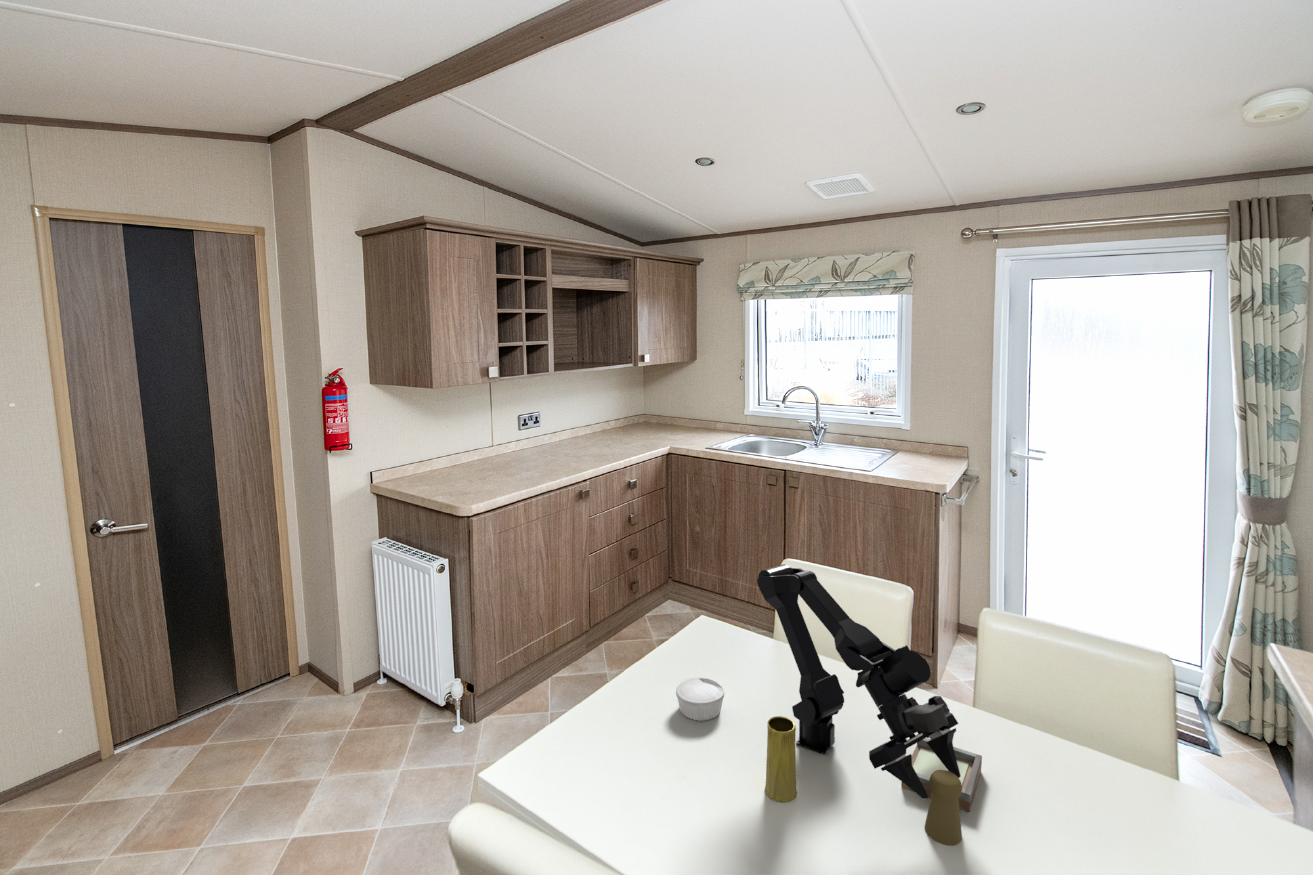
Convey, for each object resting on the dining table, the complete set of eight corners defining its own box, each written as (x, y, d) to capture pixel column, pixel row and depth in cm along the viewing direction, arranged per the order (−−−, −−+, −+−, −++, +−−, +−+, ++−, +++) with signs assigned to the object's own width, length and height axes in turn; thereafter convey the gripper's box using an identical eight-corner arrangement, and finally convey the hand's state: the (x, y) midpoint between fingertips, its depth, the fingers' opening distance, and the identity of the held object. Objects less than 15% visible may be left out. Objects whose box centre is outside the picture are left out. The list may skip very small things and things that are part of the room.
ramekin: (732, 705, 154) (732, 684, 153) (710, 730, 145) (710, 708, 144) (691, 692, 160) (691, 672, 159) (667, 715, 150) (667, 694, 150)
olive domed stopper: (954, 819, 116) (957, 764, 115) (967, 846, 110) (970, 788, 109) (920, 818, 117) (922, 763, 115) (930, 844, 111) (933, 787, 109)
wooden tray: (901, 787, 125) (901, 770, 124) (917, 750, 135) (918, 735, 135) (969, 812, 118) (970, 795, 118) (981, 771, 129) (982, 755, 128)
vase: (778, 807, 121) (778, 737, 118) (758, 787, 126) (758, 720, 124) (803, 795, 123) (804, 727, 121) (783, 776, 129) (783, 710, 126)
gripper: (884, 702, 110) (940, 799, 102) (950, 670, 120) (1006, 755, 112) (847, 722, 118) (897, 813, 110) (912, 690, 127) (962, 772, 120)
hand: (942, 787), depth 113 cm, fingers open, 9 cm apart
